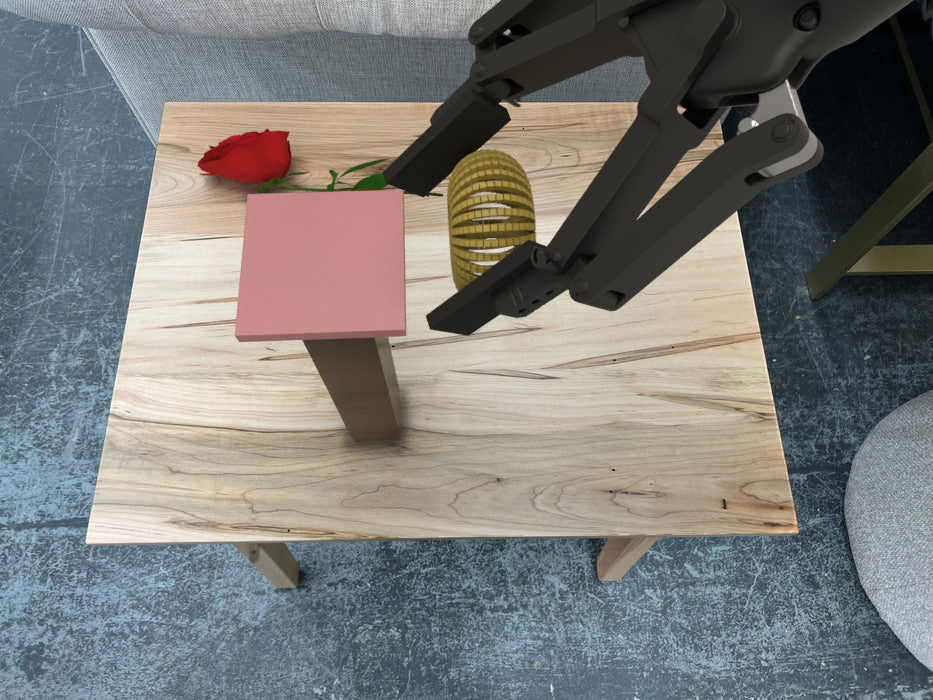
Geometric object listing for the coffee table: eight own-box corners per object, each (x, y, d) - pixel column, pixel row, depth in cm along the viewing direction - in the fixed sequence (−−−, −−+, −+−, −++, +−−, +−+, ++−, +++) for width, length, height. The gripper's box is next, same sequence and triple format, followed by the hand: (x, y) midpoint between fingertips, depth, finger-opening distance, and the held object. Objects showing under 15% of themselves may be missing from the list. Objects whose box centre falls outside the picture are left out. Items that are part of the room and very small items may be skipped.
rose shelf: (406, 336, 41) (405, 329, 40) (239, 342, 41) (234, 335, 40) (404, 198, 45) (403, 189, 44) (251, 202, 45) (247, 193, 44)
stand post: (401, 439, 72) (365, 301, 42) (353, 441, 72) (283, 303, 42) (400, 394, 74) (366, 232, 44) (354, 396, 73) (287, 234, 44)
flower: (442, 135, 73) (180, 111, 77) (432, 224, 74) (173, 196, 78) (455, 153, 82) (220, 131, 86) (446, 232, 83) (213, 207, 87)
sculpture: (530, 333, 37) (549, 256, 29) (455, 338, 37) (456, 262, 29) (514, 208, 40) (528, 111, 32) (445, 212, 40) (443, 115, 32)
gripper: (1098, 157, 21) (534, 443, 33) (786, -233, 28) (424, 121, 41) (1105, 53, 15) (424, 444, 28) (714, -398, 23) (321, 72, 35)
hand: (424, 252), depth 34 cm, fingers closed on sculpture, 8 cm apart
